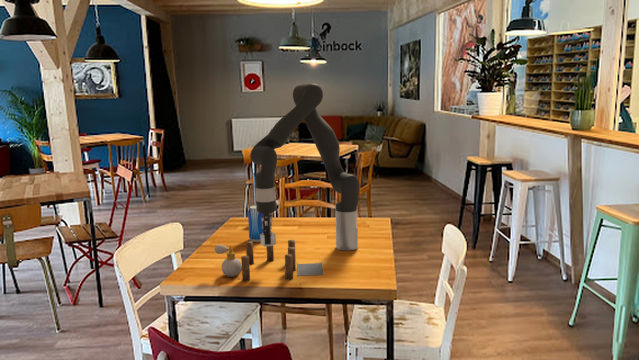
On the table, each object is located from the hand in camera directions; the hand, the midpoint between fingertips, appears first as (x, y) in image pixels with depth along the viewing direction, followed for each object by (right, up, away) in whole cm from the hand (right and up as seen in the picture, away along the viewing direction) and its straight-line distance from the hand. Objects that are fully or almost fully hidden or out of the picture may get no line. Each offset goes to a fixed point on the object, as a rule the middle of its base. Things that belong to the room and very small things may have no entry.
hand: (268, 241), depth 181 cm
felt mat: (+16, -11, +3) cm, 20 cm away
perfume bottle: (-15, -13, -1) cm, 20 cm away
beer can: (-9, -5, +41) cm, 42 cm away
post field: (0, -11, +4) cm, 12 cm away
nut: (0, -1, 0) cm, 1 cm away
